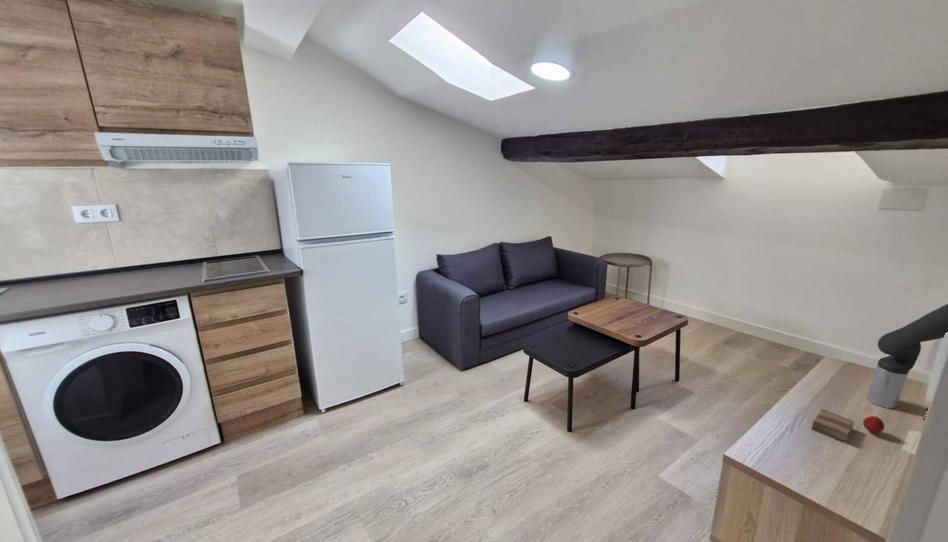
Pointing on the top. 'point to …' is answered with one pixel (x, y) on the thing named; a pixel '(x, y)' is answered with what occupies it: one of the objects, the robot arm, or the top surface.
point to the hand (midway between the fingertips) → (926, 416)
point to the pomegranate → (873, 424)
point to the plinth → (832, 425)
